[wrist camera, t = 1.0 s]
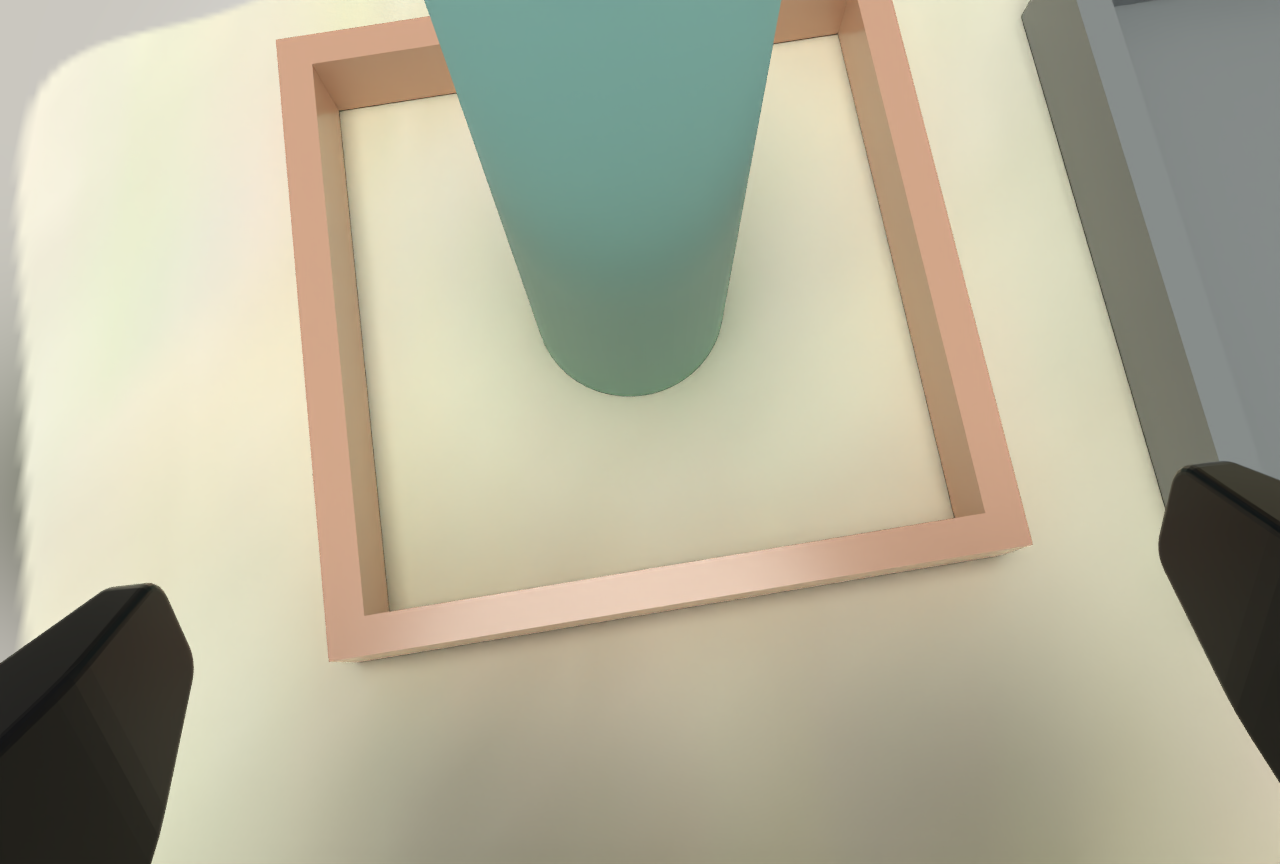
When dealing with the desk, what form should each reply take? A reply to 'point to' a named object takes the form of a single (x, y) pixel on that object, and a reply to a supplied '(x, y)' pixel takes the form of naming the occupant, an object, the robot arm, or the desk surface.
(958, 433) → the pink square frame
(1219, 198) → the tray
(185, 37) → the desk surface
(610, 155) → the canister
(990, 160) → the desk surface
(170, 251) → the desk surface
